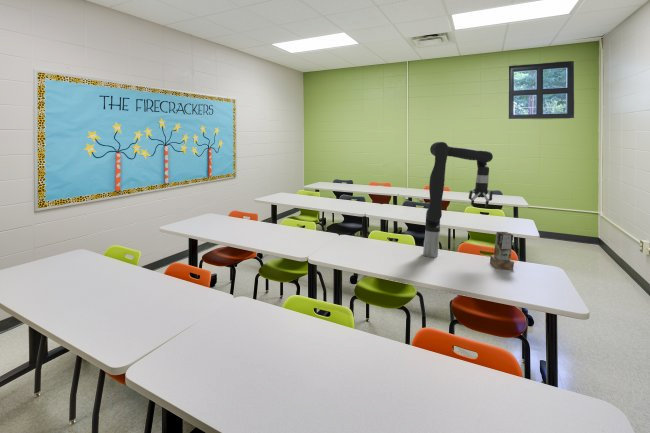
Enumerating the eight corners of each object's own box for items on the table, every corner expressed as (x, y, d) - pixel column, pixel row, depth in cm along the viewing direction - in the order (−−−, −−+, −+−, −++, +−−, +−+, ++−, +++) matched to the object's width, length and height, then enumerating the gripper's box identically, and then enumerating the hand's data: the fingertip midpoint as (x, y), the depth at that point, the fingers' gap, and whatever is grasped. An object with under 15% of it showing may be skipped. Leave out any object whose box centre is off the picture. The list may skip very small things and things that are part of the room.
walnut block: (495, 268, 212) (496, 260, 212) (489, 262, 224) (490, 255, 223) (513, 269, 211) (514, 261, 210) (506, 263, 222) (507, 256, 222)
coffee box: (510, 260, 212) (513, 234, 209) (499, 260, 212) (503, 234, 209) (503, 256, 221) (506, 231, 218) (493, 256, 221) (496, 231, 218)
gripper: (472, 182, 228) (469, 206, 231) (495, 182, 226) (492, 207, 229) (469, 181, 235) (466, 205, 238) (491, 182, 233) (489, 206, 236)
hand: (479, 206), depth 234 cm, fingers open, 8 cm apart
